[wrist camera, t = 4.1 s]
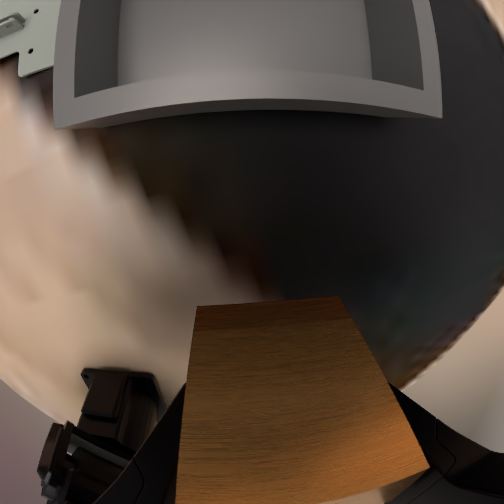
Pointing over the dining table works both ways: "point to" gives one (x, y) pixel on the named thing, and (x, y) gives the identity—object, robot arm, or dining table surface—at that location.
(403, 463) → the wood grain brick
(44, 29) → the metal bracket
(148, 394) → the robot arm
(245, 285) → the dining table surface
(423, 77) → the open box
